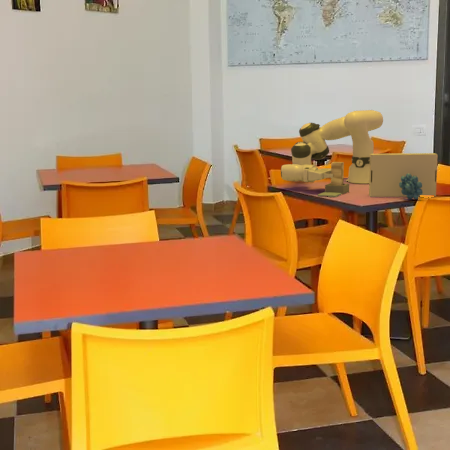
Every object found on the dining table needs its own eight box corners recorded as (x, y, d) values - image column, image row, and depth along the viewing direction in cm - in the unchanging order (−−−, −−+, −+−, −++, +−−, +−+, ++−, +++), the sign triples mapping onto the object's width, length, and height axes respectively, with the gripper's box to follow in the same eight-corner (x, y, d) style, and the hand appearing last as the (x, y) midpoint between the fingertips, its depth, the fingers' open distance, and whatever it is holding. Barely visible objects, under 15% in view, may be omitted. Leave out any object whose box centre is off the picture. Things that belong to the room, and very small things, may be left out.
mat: (324, 193, 332) (324, 192, 332) (341, 194, 328) (341, 193, 328) (317, 196, 324) (317, 194, 324) (335, 197, 320) (335, 195, 320)
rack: (330, 190, 341) (331, 182, 340) (349, 191, 336) (349, 183, 336) (325, 193, 334) (325, 185, 333) (343, 194, 329) (343, 186, 328)
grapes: (394, 199, 311) (395, 173, 308) (401, 197, 316) (402, 172, 313) (417, 201, 303) (418, 175, 301) (424, 200, 308) (425, 173, 305)
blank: (333, 191, 338) (334, 161, 335) (343, 192, 336) (343, 162, 333) (330, 192, 335) (331, 162, 332) (340, 193, 332) (341, 163, 329)
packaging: (433, 194, 322) (435, 153, 318) (435, 196, 316) (437, 154, 312) (368, 195, 325) (369, 153, 321) (370, 197, 319) (371, 154, 315)
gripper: (318, 177, 349) (343, 178, 343) (302, 182, 332) (329, 183, 325) (318, 165, 348) (343, 166, 342) (302, 169, 331) (329, 170, 324)
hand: (336, 174), depth 333 cm, fingers open, 8 cm apart
